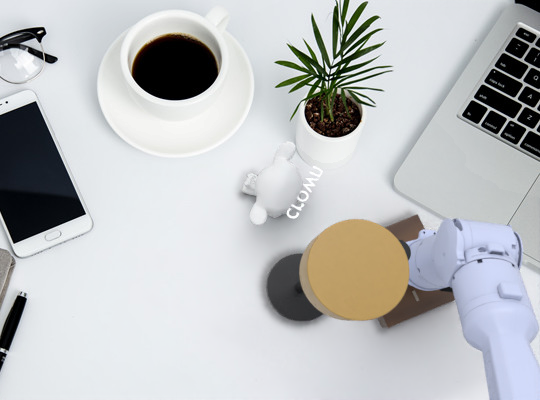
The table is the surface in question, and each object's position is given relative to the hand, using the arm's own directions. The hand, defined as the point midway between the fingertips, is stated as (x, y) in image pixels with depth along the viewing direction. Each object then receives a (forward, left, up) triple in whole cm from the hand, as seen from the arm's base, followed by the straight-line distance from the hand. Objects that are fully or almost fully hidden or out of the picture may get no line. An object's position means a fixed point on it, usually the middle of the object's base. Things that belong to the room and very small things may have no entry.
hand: (404, 269), depth 80 cm
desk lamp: (+3, +13, -3) cm, 14 cm away
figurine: (+16, +11, -4) cm, 20 cm away
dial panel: (0, 0, -3) cm, 3 cm away
